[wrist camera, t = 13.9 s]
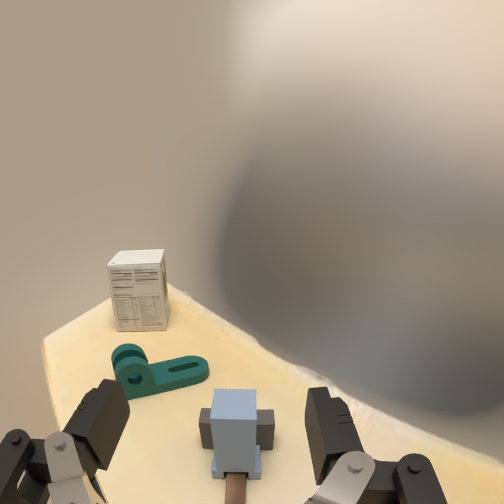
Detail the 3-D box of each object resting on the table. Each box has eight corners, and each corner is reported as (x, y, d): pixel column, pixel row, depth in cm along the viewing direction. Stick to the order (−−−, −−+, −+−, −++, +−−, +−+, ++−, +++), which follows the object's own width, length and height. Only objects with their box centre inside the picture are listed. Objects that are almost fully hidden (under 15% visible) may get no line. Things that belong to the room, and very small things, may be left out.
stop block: (271, 435, 39) (273, 409, 37) (272, 449, 36) (274, 424, 34) (205, 433, 38) (201, 408, 37) (202, 448, 36) (198, 422, 34)
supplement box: (167, 331, 69) (160, 262, 65) (116, 332, 67) (105, 264, 62) (170, 308, 82) (165, 248, 77) (126, 309, 79) (118, 250, 75)
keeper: (259, 452, 35) (262, 389, 32) (260, 478, 30) (263, 419, 27) (215, 451, 35) (208, 388, 32) (212, 477, 30) (203, 417, 27)
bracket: (122, 401, 44) (112, 367, 42) (116, 380, 49) (107, 346, 47) (214, 379, 52) (212, 345, 50) (201, 361, 58) (198, 329, 56)
